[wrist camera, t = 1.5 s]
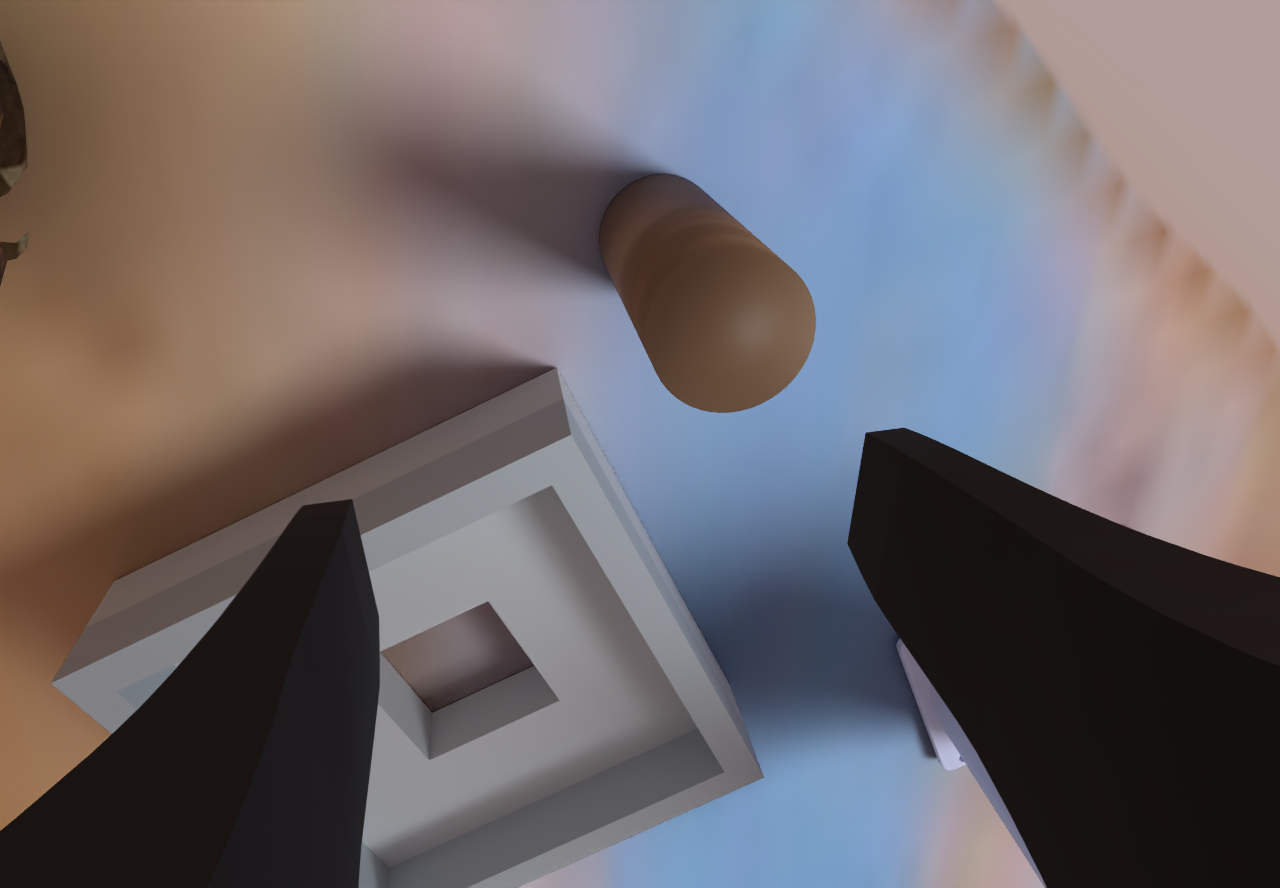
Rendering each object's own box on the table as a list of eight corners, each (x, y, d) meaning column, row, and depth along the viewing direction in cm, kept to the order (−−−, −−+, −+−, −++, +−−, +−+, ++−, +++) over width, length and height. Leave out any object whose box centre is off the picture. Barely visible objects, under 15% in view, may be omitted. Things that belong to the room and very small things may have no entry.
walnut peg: (694, 152, 20) (786, 220, 14) (736, 264, 22) (835, 369, 16) (578, 208, 21) (622, 299, 15) (629, 316, 22) (687, 438, 16)
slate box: (556, 367, 23) (571, 434, 19) (730, 686, 30) (763, 777, 26) (113, 581, 23) (50, 682, 20) (385, 843, 30) (373, 951, 27)
